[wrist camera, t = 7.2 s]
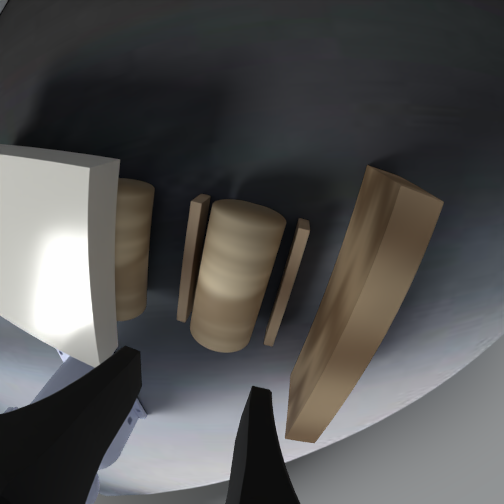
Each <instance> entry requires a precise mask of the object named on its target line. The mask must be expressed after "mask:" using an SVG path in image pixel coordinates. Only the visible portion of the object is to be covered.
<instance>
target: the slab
mask: <svg viewBox="0 0 504 504" xmlns="http://www.w3.org/2000/svg"><path fill="white" fill-rule="evenodd" d="M119 167H120V159H114V158H108V157H102V156H95V155H88V154H81V153H74V152H67V151H59V150H51V149H43V148H34V147H25V146H15V145H4V144H0V316H2V317H3V318H5V319H6V320H8V321H10V322H11V323H13V324H14V325H16V326H18V327H19V328H21V329H23V330H24V331H26V332H28V333H29V334H31V335H33V336H34V337H36V338H38V339H40V340H41V341H43V342H45V343H47V344H49V345H50V346H52V347H54V348H56V349H58V350H60V351H62V352H64V353H66V354H68V355H70V356H72V357H74V358H76V359H78V360H80V361H82V362H84V363H86V364H88V365H90V366H92V367H97V366H98V365H100V364H101V363H102V362H104V361H105V360H106V359H108V358H109V357H111V355H112V354H113V353H114V351H115V350H116V349H117V347H118V335H117V320H116V300H115V224H116V204H117V190H118V177H119Z"/></svg>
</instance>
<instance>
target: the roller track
mask: <svg viewBox="0 0 504 504" xmlns="http://www.w3.org/2000/svg"><path fill="white" fill-rule="evenodd" d="M154 191H155V188H154V187H153V186H152V185H151V184H149V183H146V182H143V181H140V180H135V179H127V178H118V190H117V204H116V224H115V300H116V320H117V321H126V320H130V319H133V318H136V317H137V316H139V315H140V314H142V313H143V311H144V310H145V308H146V302H147V276H148V258H149V243H150V230H151V219H152V209H153V200H154ZM210 198H211V196H209V195H205V194H200V195H199V196H197V197H196V198H195V199H193V200H192V201H191V205H190V212H189V219H188V226H187V233H186V240H185V248H184V256H183V264H182V272H181V281H180V290H179V300H178V310H177V320H178V321H182V322H186V320H187V319H188V317H189V315H190V313H191V311H192V310H193V305H194V299H195V293H196V286H197V279H198V272H199V266H200V259H201V253H202V246H203V240H204V234H205V228H206V222H207V216H208V210H209V204H210ZM309 233H310V225H309V220H305V219H302V218H299V219H298V223H297V226H296V230H295V234H294V237H293V241H292V244H291V248H290V251H289V255H288V258H287V261H286V265H285V268H284V272H283V275H282V278H281V282H280V285H279V288H278V292H277V295H276V298H275V302H274V305H273V308H272V311H271V315H270V318H269V321H268V324H267V328H266V333H265V338H264V345H268V346H272V347H273V344H274V341H275V338H276V335H277V332H278V329H279V326H280V323H281V320H282V318H283V315H284V312H285V309H286V306H287V303H288V300H289V296H290V293H291V290H292V287H293V284H294V281H295V278H296V275H297V272H298V268H299V265H300V262H301V259H302V256H303V252H304V249H305V246H306V243H307V239H308V236H309Z"/></svg>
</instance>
